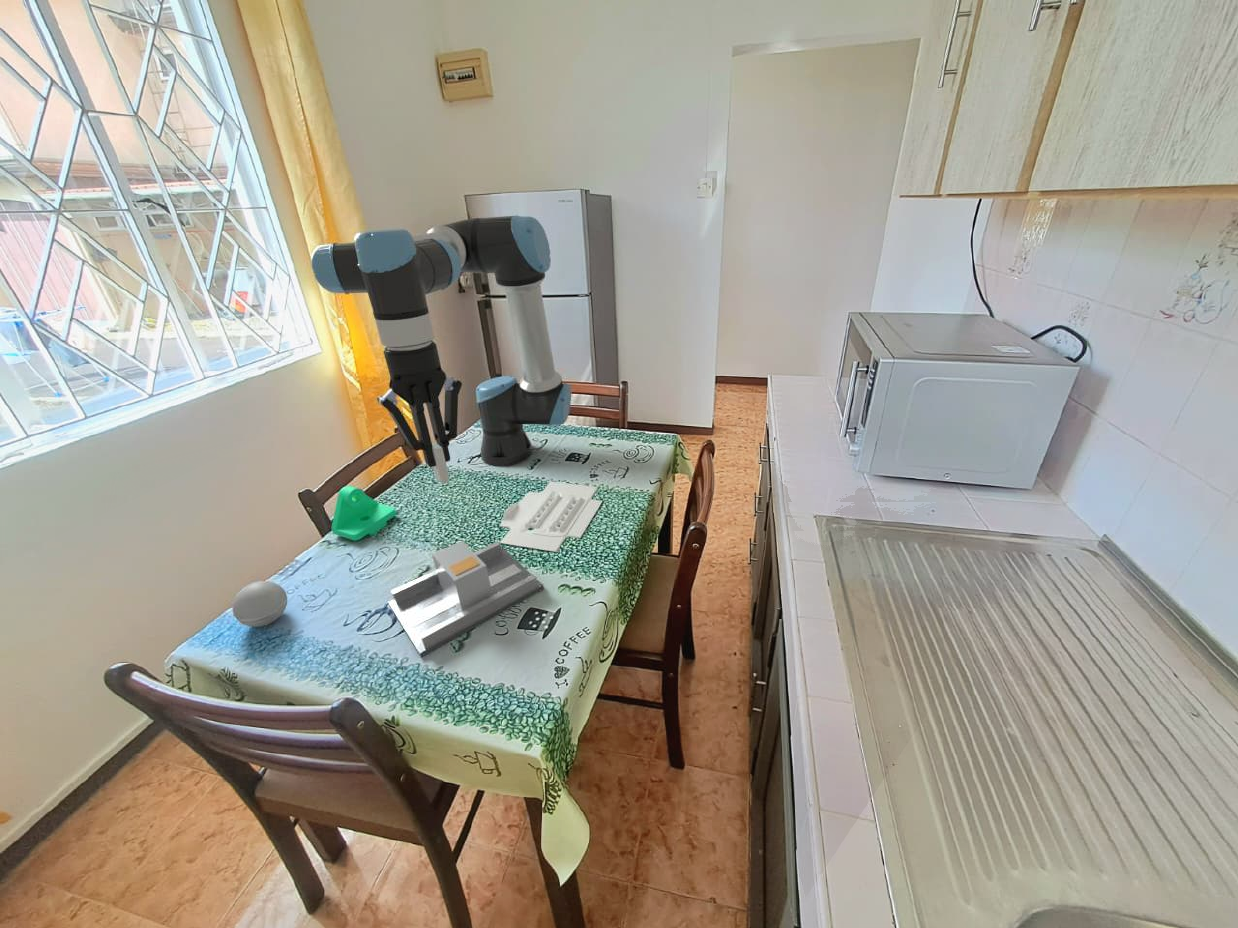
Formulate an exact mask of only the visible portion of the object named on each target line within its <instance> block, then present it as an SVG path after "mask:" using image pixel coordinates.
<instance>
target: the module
mask: <svg viewBox="0 0 1238 928" xmlns="http://www.w3.org/2000/svg"><path fill="white" fill-rule="evenodd" d="M474 552H475V551H473V550H472V549H471V548H470V547H469V546H468V544H466V543H465V542H464V541H463V540H461V541H459V542H456V543H454V544H452V545H450V546H447V547H445V548H443V549H441V550H438V551H436V552H434V553H431V555H432V561H433V563H434V567H435V570H436V571H437V575H438V578H439V582H440V586H441V588H442V589H443V590H444V592H445V593H446V594H447V596H448V597H449V598H450V599H451V601H452V602H453V603H454V604H455V606H456V607H457V608H458V609H459V611H460V612H463V611H464V610H466V609H468V608H470V607H472V606H474V605H476V604H478V603H480V602H481V601H483V600H485V599H487V598H489V597H491V596H493V595H492V590H491V586H490V581H489V576H488V571H487V567H486V565H485V564H484V562H483V561H482V560H481V559H480V558H479V557H478V556H477V555H476V554H475V553H474Z"/></svg>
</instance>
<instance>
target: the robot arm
mask: <svg viewBox="0 0 1238 928" xmlns="http://www.w3.org/2000/svg"><path fill="white" fill-rule="evenodd" d="M353 240H354V242H345V243H337V242H332V243H329V244H328V243H327V244H321V245H318V246H317V247H316V248H315V249H314V250H313V252H312V254H311V260H310V261H311V263H310V264H311V269H312V271H313V275H314V278H315V280H316V281H317V283H318V284H319V286H321V287H322V288H323V289H324V290H326V291H328V292H329V293H332V294H333V293H335V294H345V295H350V294H367V295H368V300H369V303H370V306H371V308H372V309H371V310H372V314H373V317H374V321H375V324H376V328H377V332H378V337H379V340H380V344H381V346H383V347H384V350H383V351H382V352H383V355H384V359H385V362H386V366H387V367H386V368H387V369H388V374H389V377H390V379H389V385H388V387H389V389H388V390H387V392H385V393H384V395H378V397H377V399H376V400H377V402H378V403H379V404H380V405H381V406H382V407H384V408H385V409H386V410H387V411H388V413H389V414H390V416H391V418H392V420H393V421H394V423H395V425H396V426H397V428H398V430H399V431H400V433H401V435H402V436H403V438H404V440H405V441H406V443H407V445H408V446H409V447H410V448H411V449H412V450H414V451H415V452H416V451H417V452H418V451H422V453H423V458H424V462H425V464H426V465H427V466H428V467H429V468H432V469H433V472H434V477H435V480H436V481H438V482H439V483H440V484H441V485H443V484H446V483H449V482H451V479H450V473H449V470H448V466H447V462H450V461H451V455H450V450H449V446H450V441H451V440H452V439H453V440H455V439H457V436H458V413H459V412H458V410H459V409H458V408H459V394H460V391H461V388H462V386H463V384H462V381H460V380H458V379H457V378H455V377H449V376H447V374H446V372H445V370H443V369H442V365H441V358H440V356H439V350H438V347H437V344H436V343H435V342H434V341H433V340H434V339H435V337H436V336H435V332H434V328H433V325H432V320H431V316H430V312H429V307H428V301H427V297H426V295H428V294H432V293H434V292H438V291H440V290H441V291H443V290H446V289H448V288H449V287H450V286H452V285H454V284H455V283H456V282H457V281H458V279H459V278H460V276H461V273H470V274H494V277H495V278H494V279H495V281H496V285H498V286H499V287H500V288H501V289H503V290H504V292H505V298H506V302H507V306H508V311H509V315H510V320H511V326H512V330H513V334H514V339H515V343H516V348H517V352H518V357H519V361H520V367H521V371H522V377H521V378H520V380H519V382H518V380H517V377H515V376H512V375H503V376H496V377H493V378H489V379H487V380H485V381H483V382H480V383H479V384H478V386H476V389H475V393H476V394H475V395H476V403H477V408H478V412H479V418H480V424H481V428H482V440H481V446H480V456H481V460H482V461H483V463H485V464H487V465H491V466H499V467H501V466H511V465H514V464H515V465H516V464H518V463H521V462H523V461H525V460H527V459H529V458H530V457H531V456H532V455H533V445H532V442H531V441H530V439H529V437H528V435H527V433H526V431H525V429H524V425H536V426H537V425H544V426H549V427H551V426H560V425H563V424H565V423H566V422H567V419H568V417H569V414H570V410H571V409H570V408H571V404H572V403H571V402H572V389H571V388H572V387H571V385H570V384H569V383H566V382H563V378H562V374H560V373H559V372H557V371H556V370H555V365H554V358H553V353H552V352H553V351H552V345H551V340H550V333H549V329H548V328H549V327H548V323H547V322H548V321H547V316H546V311H545V305H544V299H543V293H542V287H541V285H542V283H543V281H544V280H545V279H546V272H548V270H549V269H550V267H551V256H550V255H551V249H550V243H549V240H548V237H547V234H546V231H545V229H544V227H543V225H542V224H541V223H540V221H539V219H536V218H535V217H533V216H520V215H507V216H493V217H480V218H479V217H473V218H468V219H463V220H458V221H455V222H454V221H453V222H451V223H446V224H442V225H436V226H433V227H432V228H430V229H429V230H428V231H427V232H424V233H423V232H422V233H416V234H411V233H410V232H409V231H408V230H407V229H405V228H404V229H402V228H400V229H399V228H398V229H380V230H367V231H359V232H357V233H356V234H355V235H354V237H353ZM443 388H444V418H443V415H442V412H441V407H440V406H441V403H440V399H439V396H440V395H441V392H442V390H443ZM397 396H398V397H399V398H400V399H401V400H402V401H404V402H405V403H407V404H408V406H409V409H410V412H411V415H412V416H411V417H412V420H413V424H414V426H415V430H416V434H417V437H416V435H415V433H414V432H413V430H412V428H411V427H410V424H409V423H408V421H407V419H406V418H405V416H404V414H403V412H402V411H401V409H400V408H399V407H398V404H399V401H398V399H397ZM424 404H425V406H426V409H427V412H428V416H429V421H430V424H431V429H432V432H433V433H432V434H433V437H434V440H435V441H436V442H432V438H431V435H430V431H429V427H428V423H427V418H426V415H425V406H424ZM443 420H444V421H443Z"/></svg>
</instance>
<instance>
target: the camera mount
mask: <svg viewBox="0 0 1238 928" xmlns="http://www.w3.org/2000/svg"><path fill="white" fill-rule="evenodd" d="M337 494H338V495H337V500H336V504H335V510H334V514H333V519H332V523H331V524H332V525H331V531H332V533H333V534H334V535H336V536H338V537H342V538H345V539H347V540H348V539H349V540H352V541H358V540H359V541H360V540H361V539H363V538H364V537H366V536H367V535H368V536H373V535H374V534H376V533H377V532H379V531H380V530H382V529H383V528H384V527H387V526H388V523H387V522H388V521H390V520H391V519H392V518H394V517H395V516H397V511H396V508H395V507H393V506H391V505H386V504H383V503H379V502H378V501H376V500H375V499H374V498H372V497H370V496H368V495H367V494H366V493H365V492H364V490H363V489H362V488H359V487H355V486H350V485H346V486H344V487H342V488H340V490H339V491H338V493H337Z"/></svg>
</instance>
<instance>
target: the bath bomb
mask: <svg viewBox="0 0 1238 928" xmlns="http://www.w3.org/2000/svg"><path fill="white" fill-rule="evenodd" d="M287 605H288V596H287V593H286V591H285V589H284V587H282V586H281V585H280V584H278V583H276V582H274V581H269V580H260V581H259V580H258V581H254V582H250V583H249V584H248V585H245V586H244V587H243V588H241V590H240V591H238V592H237V594H236V595H235V597H234V598H233V603H232V614H233V616H234V617H235V619H236V621H238V622H240V623H241V624H242V625H245V626H246V627H253V628H257V627H265V626H267V625H270V624H272V623H274V622H276V621H277V620H278V619H279V618H280V617H281V616H282V615H283V614H284V612H285V610H286V607H287Z"/></svg>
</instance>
